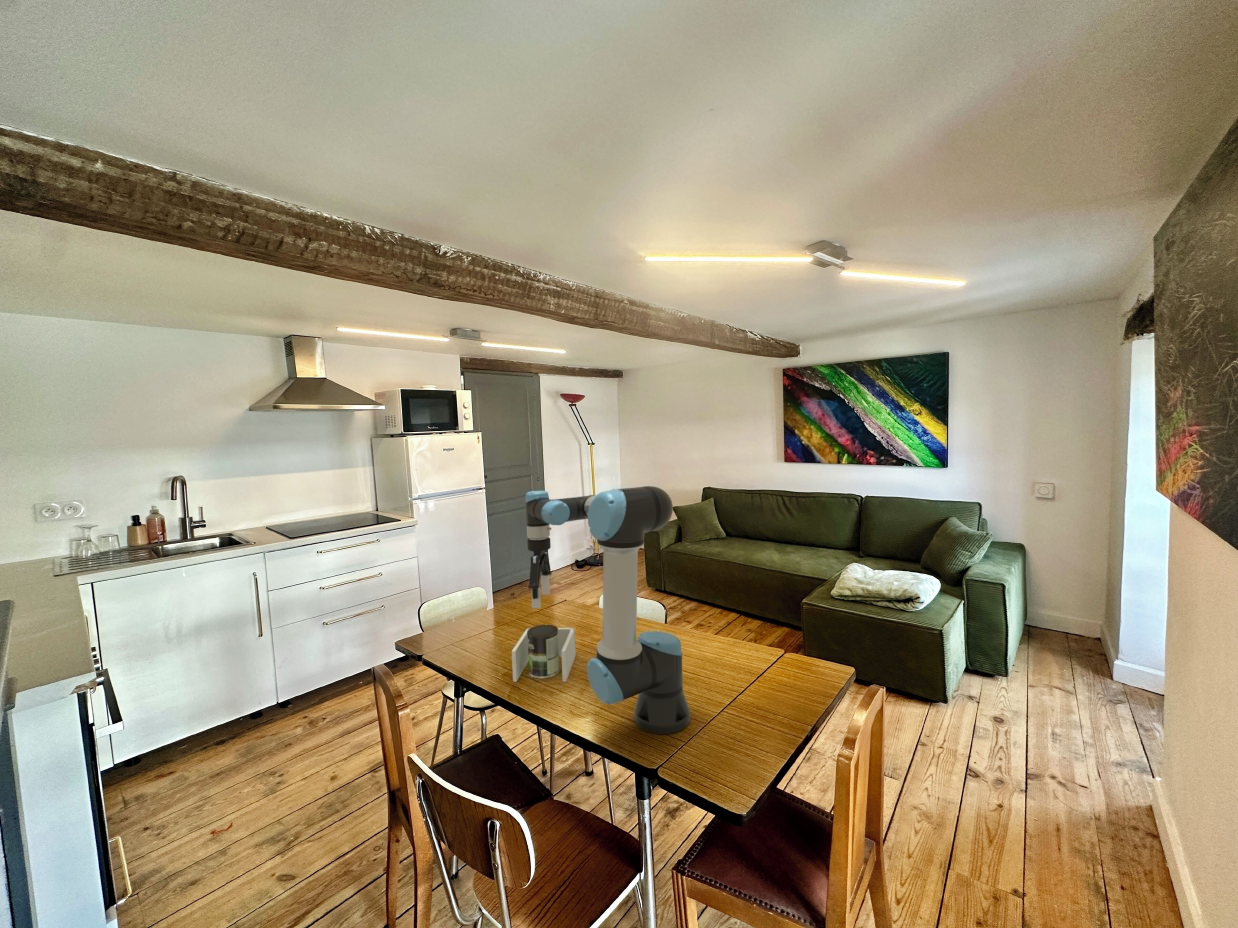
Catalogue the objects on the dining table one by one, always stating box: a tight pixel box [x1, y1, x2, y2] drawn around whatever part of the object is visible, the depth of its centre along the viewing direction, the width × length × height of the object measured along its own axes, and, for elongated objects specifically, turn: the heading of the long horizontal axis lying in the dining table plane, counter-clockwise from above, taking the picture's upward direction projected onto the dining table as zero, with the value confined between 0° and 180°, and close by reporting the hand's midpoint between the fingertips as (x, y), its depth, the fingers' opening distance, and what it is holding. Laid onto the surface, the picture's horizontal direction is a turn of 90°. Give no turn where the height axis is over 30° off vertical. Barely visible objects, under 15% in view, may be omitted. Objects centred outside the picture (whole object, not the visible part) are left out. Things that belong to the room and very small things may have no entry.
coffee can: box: [527, 624, 560, 680], centre depth 163 cm, size 10×10×14 cm
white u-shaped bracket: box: [511, 627, 577, 683], centre depth 166 cm, size 19×17×10 cm
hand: (541, 600), depth 162 cm, fingers open, 13 cm apart
